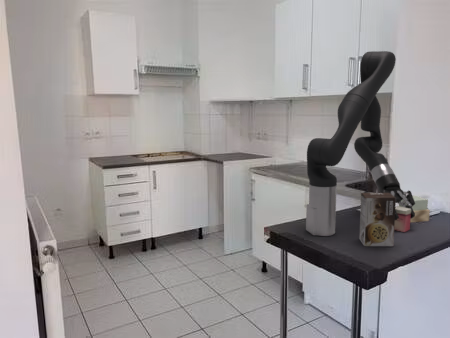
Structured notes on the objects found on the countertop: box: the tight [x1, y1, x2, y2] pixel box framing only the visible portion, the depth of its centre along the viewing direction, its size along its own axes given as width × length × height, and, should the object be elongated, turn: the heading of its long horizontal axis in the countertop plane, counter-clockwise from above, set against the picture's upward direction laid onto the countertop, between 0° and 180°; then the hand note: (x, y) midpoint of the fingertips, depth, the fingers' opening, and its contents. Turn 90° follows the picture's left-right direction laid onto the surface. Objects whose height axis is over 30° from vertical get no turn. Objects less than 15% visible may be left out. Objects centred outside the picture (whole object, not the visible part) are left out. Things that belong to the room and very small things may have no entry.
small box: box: [394, 205, 411, 233], centre depth 127 cm, size 5×4×8 cm
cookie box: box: [358, 192, 397, 247], centre depth 114 cm, size 9×6×16 cm
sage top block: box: [398, 194, 429, 211], centre depth 139 cm, size 7×7×4 cm
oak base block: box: [410, 208, 431, 223], centre depth 139 cm, size 8×8×4 cm
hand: (404, 218), depth 125 cm, fingers closed on small box, 5 cm apart
